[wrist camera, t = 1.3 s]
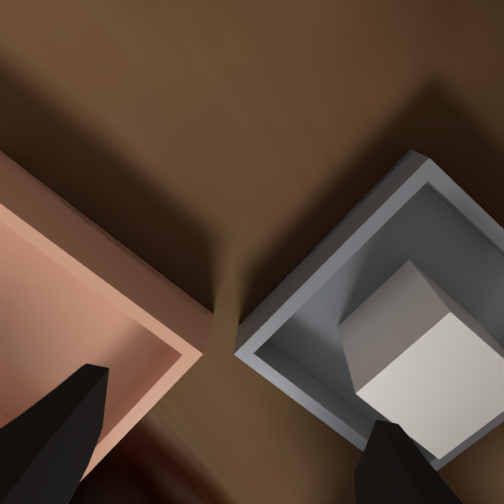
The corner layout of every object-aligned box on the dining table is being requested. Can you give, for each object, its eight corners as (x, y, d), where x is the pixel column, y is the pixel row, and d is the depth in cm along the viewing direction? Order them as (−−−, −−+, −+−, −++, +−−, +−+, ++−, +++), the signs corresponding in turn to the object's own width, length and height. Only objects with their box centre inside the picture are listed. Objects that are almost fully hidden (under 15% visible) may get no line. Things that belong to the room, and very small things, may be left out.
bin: (213, 314, 22) (203, 354, 19) (77, 459, 26) (48, 514, 22) (-6, 146, 20) (-61, 158, 17) (-122, 331, 23) (-187, 371, 20)
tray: (578, 309, 21) (616, 337, 19) (399, 450, 24) (412, 488, 22) (409, 148, 19) (429, 157, 17) (238, 326, 22) (234, 354, 20)
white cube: (477, 319, 21) (535, 386, 16) (404, 380, 22) (439, 459, 18) (409, 259, 20) (450, 311, 15) (337, 326, 21) (355, 393, 17)
